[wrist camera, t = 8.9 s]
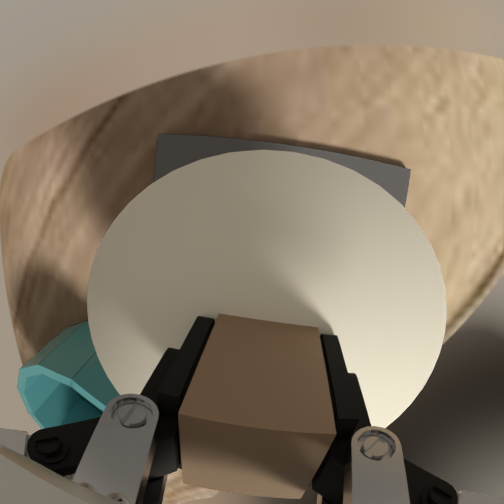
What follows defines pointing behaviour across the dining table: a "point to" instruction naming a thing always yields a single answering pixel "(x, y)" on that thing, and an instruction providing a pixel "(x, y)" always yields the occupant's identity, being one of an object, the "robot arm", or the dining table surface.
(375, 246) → the lid
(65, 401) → the bowl
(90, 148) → the dining table surface
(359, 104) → the dining table surface
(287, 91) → the dining table surface
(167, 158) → the mat
